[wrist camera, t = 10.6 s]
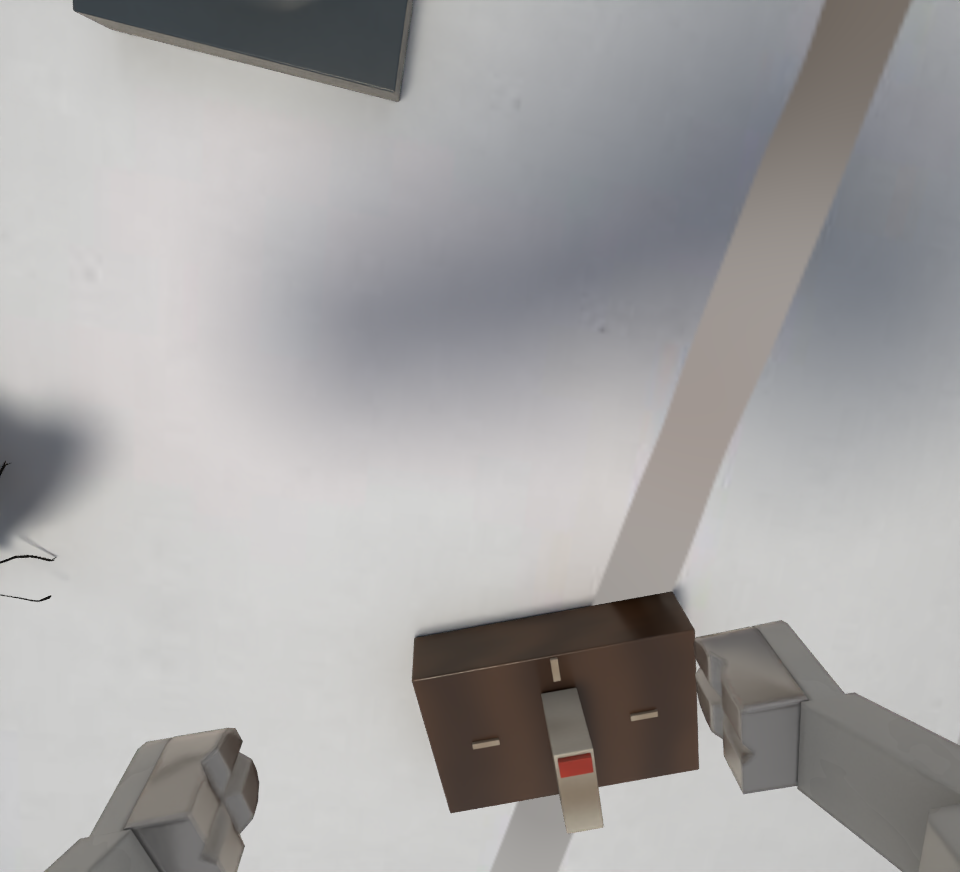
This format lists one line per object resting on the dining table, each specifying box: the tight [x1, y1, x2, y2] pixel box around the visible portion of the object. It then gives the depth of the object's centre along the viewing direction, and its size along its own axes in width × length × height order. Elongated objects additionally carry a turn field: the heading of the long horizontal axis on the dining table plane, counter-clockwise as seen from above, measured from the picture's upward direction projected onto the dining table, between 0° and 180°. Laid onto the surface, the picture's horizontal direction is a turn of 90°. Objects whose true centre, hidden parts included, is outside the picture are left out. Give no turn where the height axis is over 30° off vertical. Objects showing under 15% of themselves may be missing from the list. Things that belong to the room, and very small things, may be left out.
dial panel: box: [412, 592, 699, 813], centre depth 31 cm, size 14×10×3 cm
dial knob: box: [541, 688, 604, 834], centre depth 28 cm, size 6×2×4 cm, turn 10°
